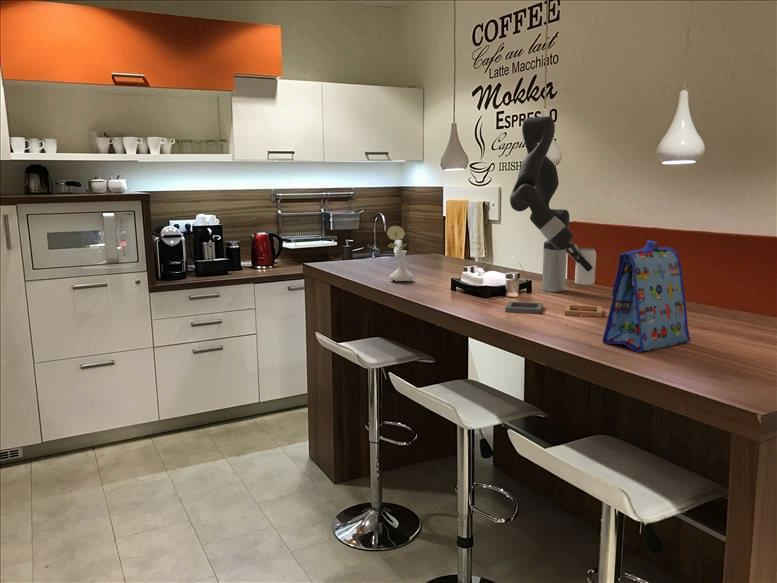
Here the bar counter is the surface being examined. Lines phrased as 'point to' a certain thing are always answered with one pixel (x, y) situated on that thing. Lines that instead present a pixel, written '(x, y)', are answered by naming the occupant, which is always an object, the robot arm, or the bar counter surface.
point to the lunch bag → (648, 300)
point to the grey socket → (510, 305)
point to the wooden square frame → (583, 313)
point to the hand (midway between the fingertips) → (590, 268)
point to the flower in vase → (401, 272)
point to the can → (581, 273)
